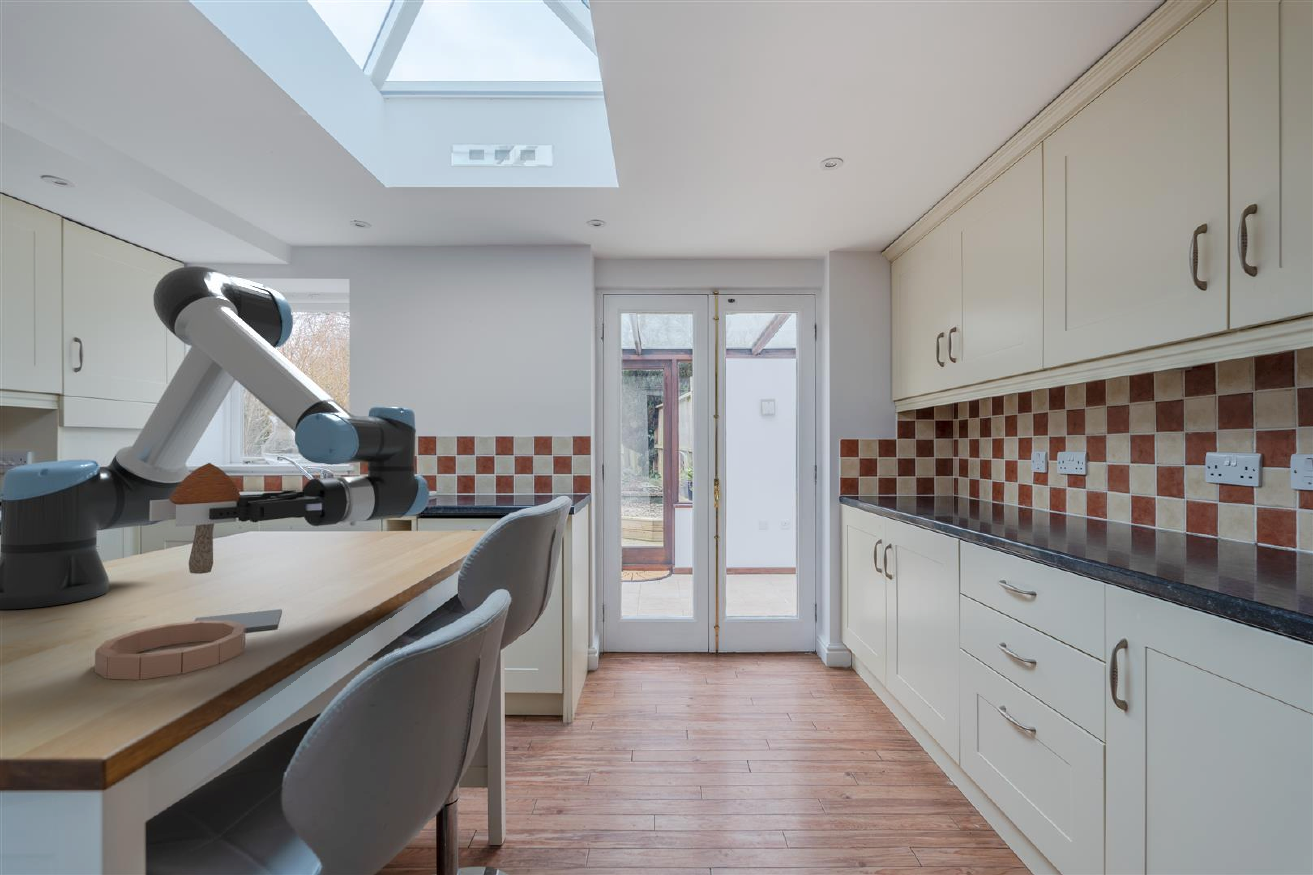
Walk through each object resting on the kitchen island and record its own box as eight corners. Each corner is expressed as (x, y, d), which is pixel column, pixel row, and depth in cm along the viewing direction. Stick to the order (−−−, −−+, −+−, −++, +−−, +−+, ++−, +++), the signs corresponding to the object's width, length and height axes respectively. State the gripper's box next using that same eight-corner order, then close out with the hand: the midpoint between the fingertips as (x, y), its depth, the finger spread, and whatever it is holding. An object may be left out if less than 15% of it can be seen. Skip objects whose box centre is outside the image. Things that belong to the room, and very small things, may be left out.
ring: (118, 648, 79) (118, 629, 79) (249, 632, 86) (250, 615, 86) (78, 687, 66) (78, 665, 67) (236, 666, 73) (236, 645, 73)
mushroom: (250, 571, 83) (252, 463, 83) (179, 581, 77) (182, 464, 77) (227, 564, 88) (229, 461, 88) (158, 573, 81) (161, 462, 82)
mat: (196, 621, 91) (196, 617, 91) (281, 612, 96) (282, 609, 96) (183, 639, 83) (183, 634, 83) (277, 628, 88) (277, 624, 88)
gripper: (373, 529, 92) (196, 550, 73) (302, 518, 103) (133, 534, 84) (374, 480, 92) (198, 488, 73) (303, 474, 103) (134, 480, 84)
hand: (163, 513), depth 78 cm, fingers closed on mushroom, 8 cm apart
